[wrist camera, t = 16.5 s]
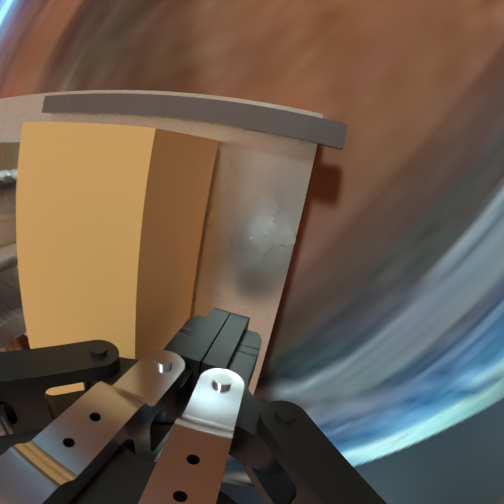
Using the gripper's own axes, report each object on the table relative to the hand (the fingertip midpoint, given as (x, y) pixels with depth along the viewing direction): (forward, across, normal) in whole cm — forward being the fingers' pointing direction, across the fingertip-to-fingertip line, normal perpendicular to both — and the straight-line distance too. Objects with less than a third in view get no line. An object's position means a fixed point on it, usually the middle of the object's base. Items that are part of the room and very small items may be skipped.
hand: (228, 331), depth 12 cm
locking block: (+2, +5, 0) cm, 6 cm away
